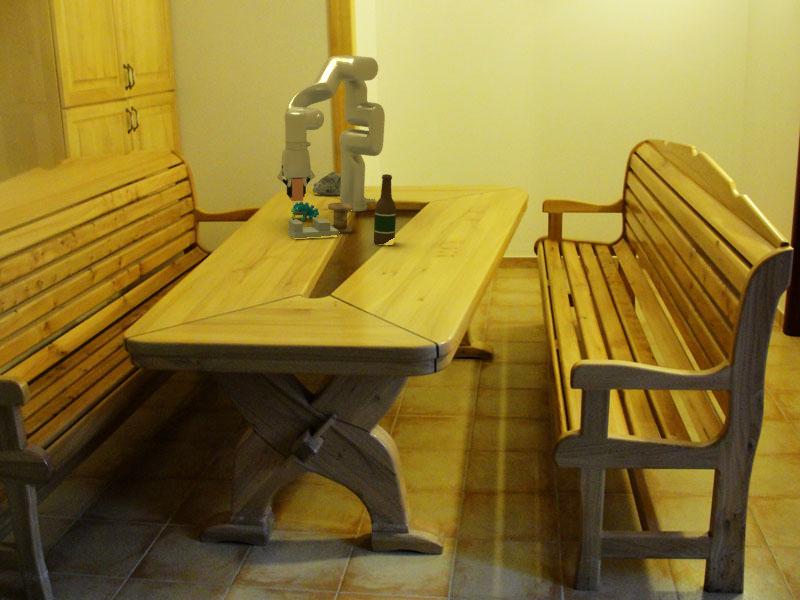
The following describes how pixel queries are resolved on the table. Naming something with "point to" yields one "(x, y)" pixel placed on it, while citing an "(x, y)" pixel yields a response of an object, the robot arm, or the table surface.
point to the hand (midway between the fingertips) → (296, 196)
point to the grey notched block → (311, 229)
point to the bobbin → (341, 216)
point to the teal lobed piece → (304, 210)
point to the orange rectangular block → (297, 189)
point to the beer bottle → (385, 213)
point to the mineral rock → (329, 185)
